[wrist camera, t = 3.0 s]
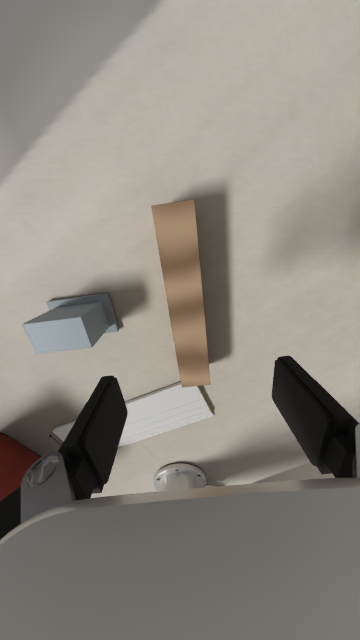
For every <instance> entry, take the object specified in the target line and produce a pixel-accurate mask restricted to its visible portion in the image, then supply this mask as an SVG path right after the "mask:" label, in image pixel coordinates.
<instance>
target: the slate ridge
mask: <svg viewBox="0 0 360 640" xmlns="http://www.w3.org/2000/svg"><path fill="white" fill-rule="evenodd" d="M47 305H48V307H49V309H50V311H48V312H46V313H44V314H42V315H40V316H38V317H36V318H34V319H32V320H30V321H28V322H26V323H24V324H22V326H23V328H24V330H25V332H26V334H27V336H28V338H29V340H30V342H31V344H32V346H33V348H34V350H35V352H36V354H41V353H49V352H58V351H66V350H74V349H83V348H91V347H93V345H94V344H95V343H96V342H97V341H98V339H99V338H100V337H101V336H102V335H103V334H104V333H109V332H117V331H118V330H119V327H118V323H117V320H116V316H115V312H114V309H113V305H112V302H111V298H110V295H109V293H103V294H95V295H87V296H80V297H72V298H64V299H57V300H50V301H47Z"/></svg>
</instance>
